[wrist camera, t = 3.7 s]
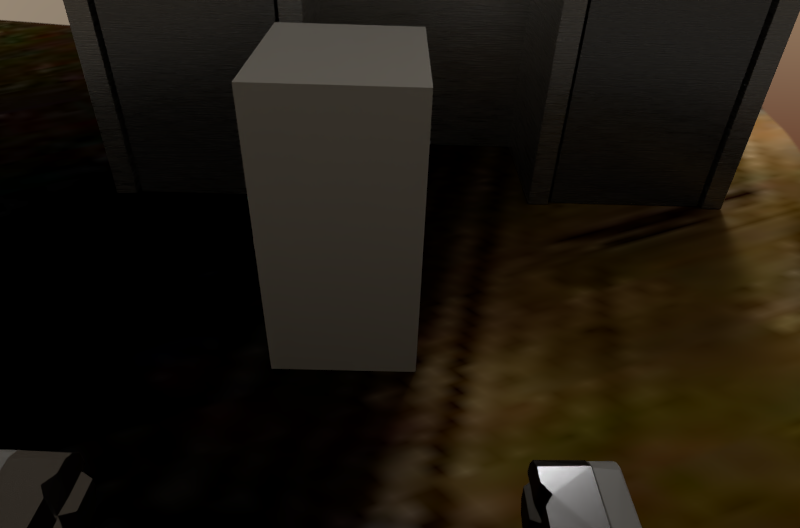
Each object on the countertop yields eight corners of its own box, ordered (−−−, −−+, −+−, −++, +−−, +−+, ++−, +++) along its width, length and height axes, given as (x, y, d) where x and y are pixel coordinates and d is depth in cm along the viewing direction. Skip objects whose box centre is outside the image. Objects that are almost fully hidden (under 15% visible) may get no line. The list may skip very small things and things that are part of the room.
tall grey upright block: (271, 368, 20) (231, 81, 15) (296, 267, 25) (274, 22, 19) (415, 371, 20) (432, 87, 15) (413, 270, 25) (425, 26, 20)
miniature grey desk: (111, 200, 29) (20, -108, 22) (168, 130, 36) (115, -120, 29) (727, 216, 30) (849, -80, 22) (664, 144, 37) (740, -99, 29)
